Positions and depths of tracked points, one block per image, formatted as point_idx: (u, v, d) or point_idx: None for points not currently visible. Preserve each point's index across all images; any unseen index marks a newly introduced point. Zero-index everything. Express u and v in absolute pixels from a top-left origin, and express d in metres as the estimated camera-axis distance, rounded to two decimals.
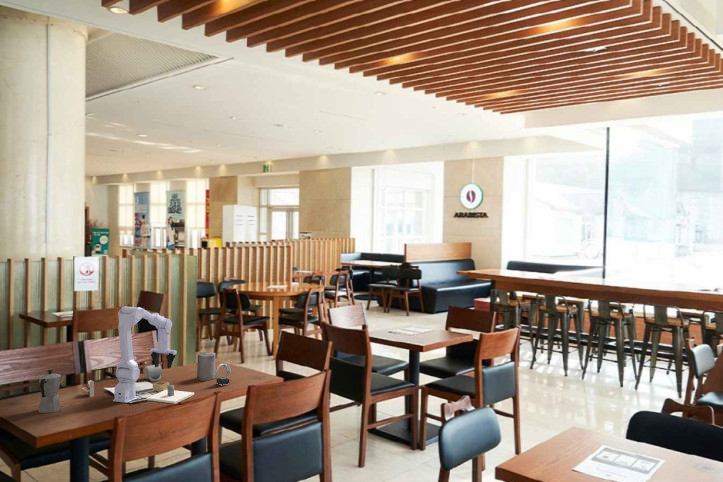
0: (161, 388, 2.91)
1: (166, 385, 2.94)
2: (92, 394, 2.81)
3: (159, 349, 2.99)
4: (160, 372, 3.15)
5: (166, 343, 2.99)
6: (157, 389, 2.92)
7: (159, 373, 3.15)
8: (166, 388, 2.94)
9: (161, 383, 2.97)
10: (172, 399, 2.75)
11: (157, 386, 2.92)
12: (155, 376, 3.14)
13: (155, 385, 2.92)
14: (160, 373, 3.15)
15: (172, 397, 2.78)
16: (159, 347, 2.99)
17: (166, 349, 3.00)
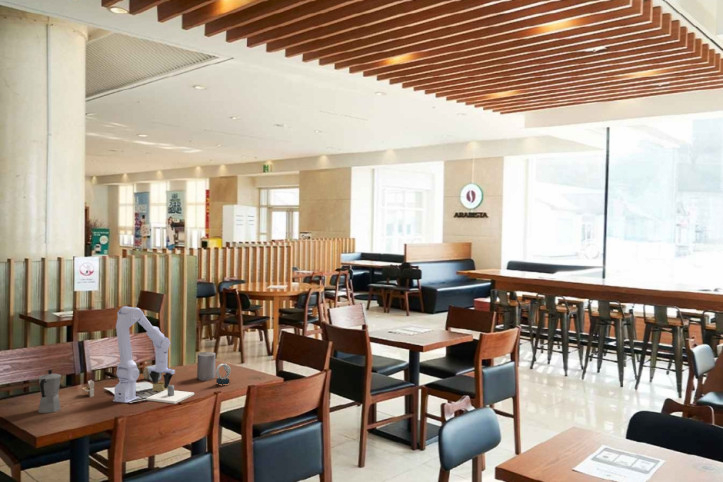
0: (161, 388, 2.91)
1: None
2: (92, 394, 2.81)
3: (157, 368, 2.92)
4: None
5: (164, 362, 2.92)
6: (157, 389, 2.92)
7: (159, 373, 3.15)
8: (166, 388, 2.94)
9: (161, 383, 2.97)
10: (172, 399, 2.75)
11: (157, 386, 2.92)
12: None
13: (155, 385, 2.92)
14: (160, 373, 3.15)
15: (172, 397, 2.78)
16: (157, 366, 2.92)
17: (164, 368, 2.92)
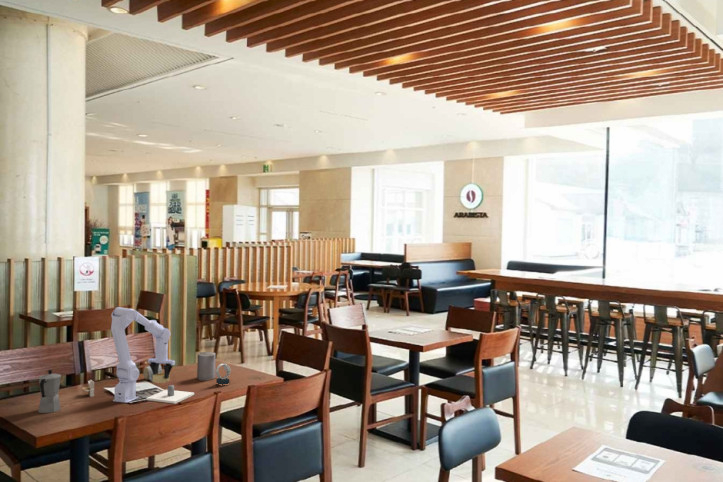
0: (161, 379, 2.91)
1: None
2: (92, 394, 2.81)
3: (157, 359, 2.92)
4: (160, 372, 3.15)
5: (164, 353, 2.92)
6: (157, 380, 2.92)
7: None
8: (166, 379, 2.94)
9: (161, 374, 2.97)
10: (172, 399, 2.75)
11: (157, 377, 2.92)
12: None
13: (155, 376, 2.92)
14: None
15: (172, 397, 2.78)
16: (157, 357, 2.92)
17: (164, 359, 2.92)
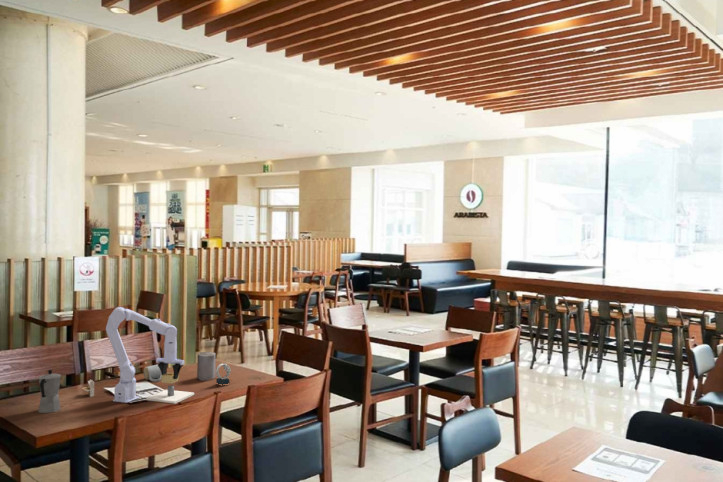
0: (170, 379, 2.80)
1: None
2: (92, 394, 2.81)
3: (166, 359, 2.81)
4: (160, 372, 3.15)
5: (173, 352, 2.81)
6: (166, 380, 2.81)
7: (159, 373, 3.14)
8: (175, 379, 2.83)
9: (170, 374, 2.86)
10: (172, 399, 2.75)
11: (166, 377, 2.81)
12: (155, 376, 3.13)
13: (164, 376, 2.81)
14: (160, 373, 3.15)
15: (172, 397, 2.78)
16: (166, 357, 2.81)
17: (173, 359, 2.82)
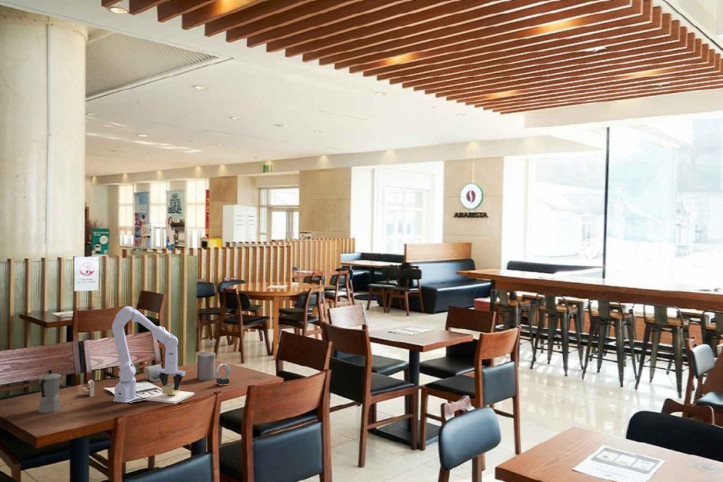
0: (171, 390, 2.79)
1: None
2: (92, 394, 2.81)
3: (167, 370, 2.80)
4: None
5: (174, 363, 2.80)
6: (167, 391, 2.80)
7: None
8: (176, 390, 2.82)
9: None
10: (172, 399, 2.75)
11: (167, 388, 2.80)
12: (156, 376, 3.13)
13: (165, 387, 2.80)
14: None
15: (172, 397, 2.78)
16: (167, 368, 2.80)
17: (174, 370, 2.80)
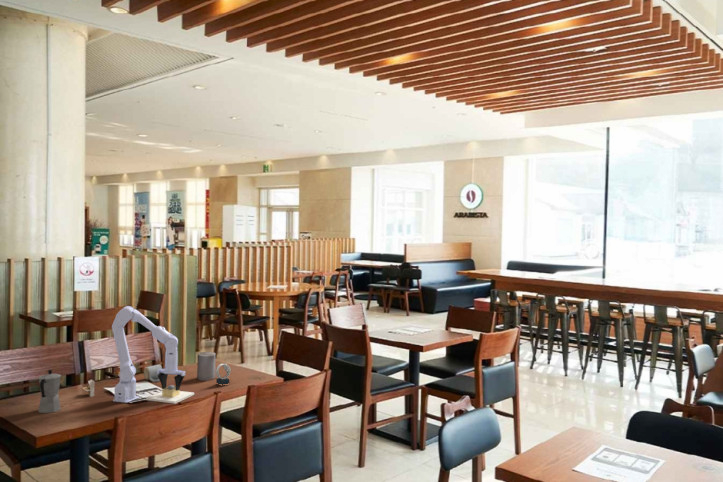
0: (171, 393, 2.79)
1: None
2: (92, 394, 2.81)
3: (167, 370, 2.80)
4: None
5: (174, 363, 2.80)
6: (167, 394, 2.80)
7: None
8: (176, 393, 2.82)
9: None
10: (172, 399, 2.75)
11: (167, 391, 2.80)
12: (156, 377, 3.13)
13: (165, 390, 2.80)
14: None
15: (172, 397, 2.78)
16: (167, 368, 2.80)
17: (174, 370, 2.80)
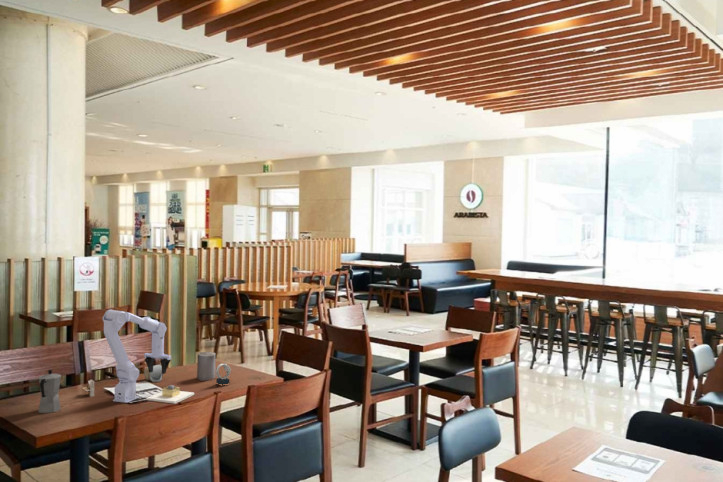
0: (171, 393, 2.79)
1: (176, 390, 2.82)
2: (92, 394, 2.81)
3: (153, 354, 2.89)
4: (161, 373, 3.14)
5: (160, 348, 2.90)
6: (167, 394, 2.80)
7: (160, 374, 3.13)
8: (176, 393, 2.82)
9: None
10: (172, 399, 2.75)
11: (167, 391, 2.80)
12: (156, 377, 3.13)
13: (165, 390, 2.80)
14: (161, 374, 3.14)
15: (172, 397, 2.78)
16: (153, 352, 2.89)
17: (160, 354, 2.90)
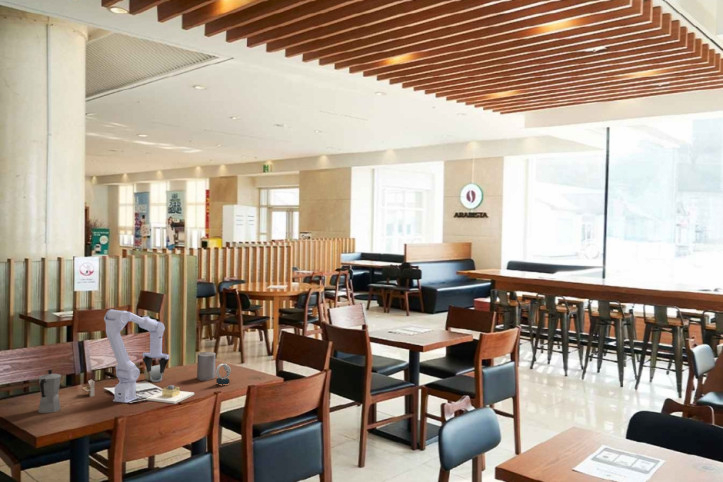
0: (171, 393, 2.79)
1: (176, 390, 2.82)
2: (92, 394, 2.81)
3: (151, 353, 2.90)
4: (161, 373, 3.13)
5: (158, 347, 2.91)
6: (167, 394, 2.80)
7: (160, 374, 3.13)
8: (176, 393, 2.82)
9: None
10: (172, 399, 2.75)
11: (167, 391, 2.80)
12: (156, 377, 3.12)
13: (165, 390, 2.80)
14: (161, 374, 3.13)
15: (172, 397, 2.78)
16: (151, 351, 2.90)
17: (158, 353, 2.91)
